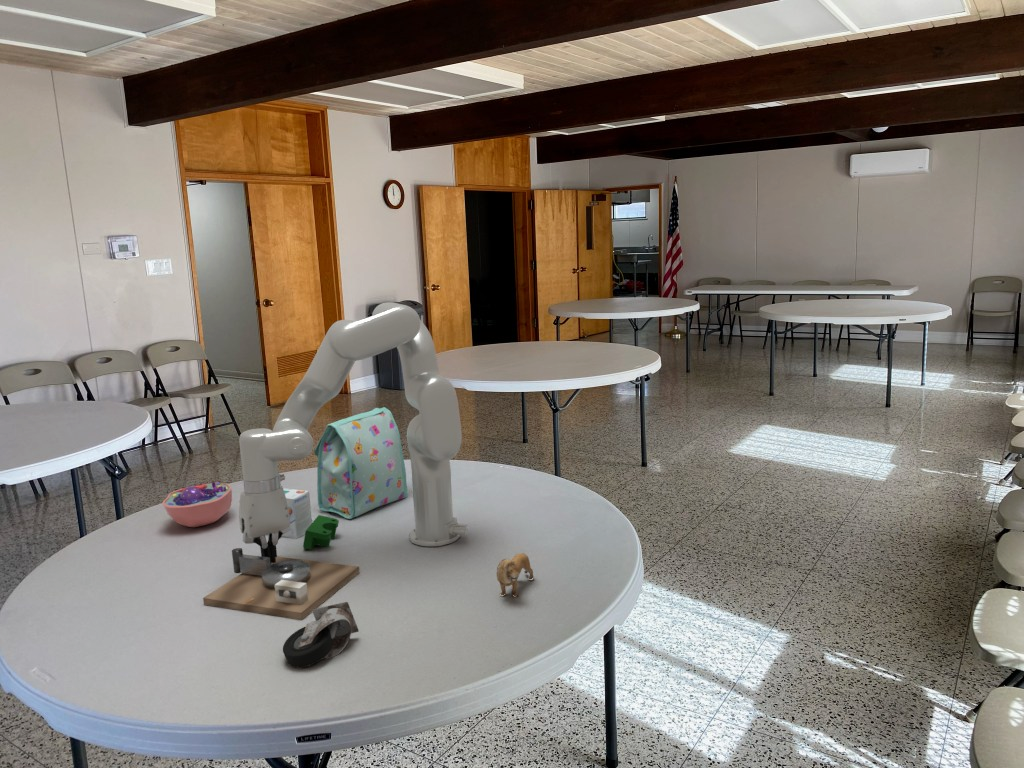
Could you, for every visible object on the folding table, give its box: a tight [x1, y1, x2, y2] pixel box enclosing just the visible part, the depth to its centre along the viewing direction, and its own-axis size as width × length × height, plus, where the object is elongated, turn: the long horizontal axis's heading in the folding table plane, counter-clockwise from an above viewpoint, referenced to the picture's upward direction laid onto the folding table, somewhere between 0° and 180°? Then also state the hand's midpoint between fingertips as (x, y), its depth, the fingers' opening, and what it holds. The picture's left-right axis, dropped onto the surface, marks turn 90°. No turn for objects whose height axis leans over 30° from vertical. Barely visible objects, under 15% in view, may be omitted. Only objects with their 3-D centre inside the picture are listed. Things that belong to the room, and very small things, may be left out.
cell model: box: [161, 481, 233, 528], centre depth 201 cm, size 17×20×11 cm
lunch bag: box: [313, 406, 408, 520], centre depth 209 cm, size 23×16×27 cm
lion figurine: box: [496, 552, 534, 596], centre depth 155 cm, size 15×5×9 cm, turn 163°
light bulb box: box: [281, 487, 313, 540], centre depth 192 cm, size 11×7×11 cm, turn 68°
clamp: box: [302, 514, 340, 551], centre depth 185 cm, size 11×6×8 cm, turn 171°
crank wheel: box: [231, 547, 311, 589], centre depth 162 cm, size 19×10×5 cm, turn 71°
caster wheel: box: [282, 601, 360, 669], centre depth 134 cm, size 7×12×10 cm
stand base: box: [202, 555, 360, 621], centre depth 160 cm, size 24×22×5 cm
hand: (269, 561), depth 168 cm, fingers closed
